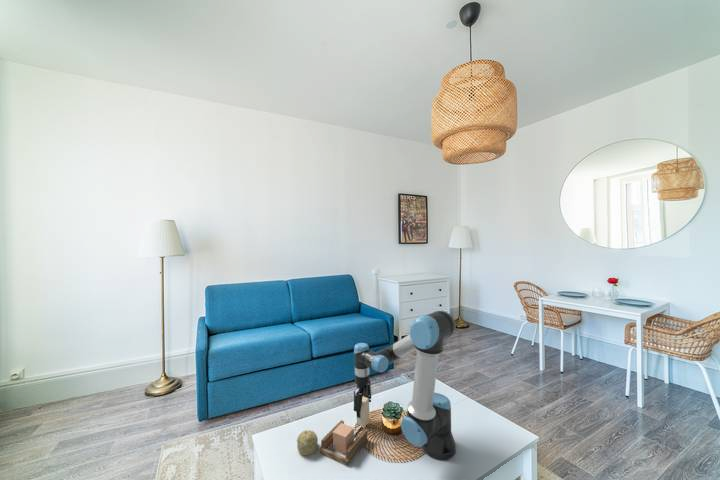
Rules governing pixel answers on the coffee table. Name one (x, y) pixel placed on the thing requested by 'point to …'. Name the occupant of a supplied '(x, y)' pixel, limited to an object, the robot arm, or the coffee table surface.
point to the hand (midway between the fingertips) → (363, 418)
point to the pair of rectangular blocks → (349, 430)
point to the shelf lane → (350, 452)
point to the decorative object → (307, 442)
